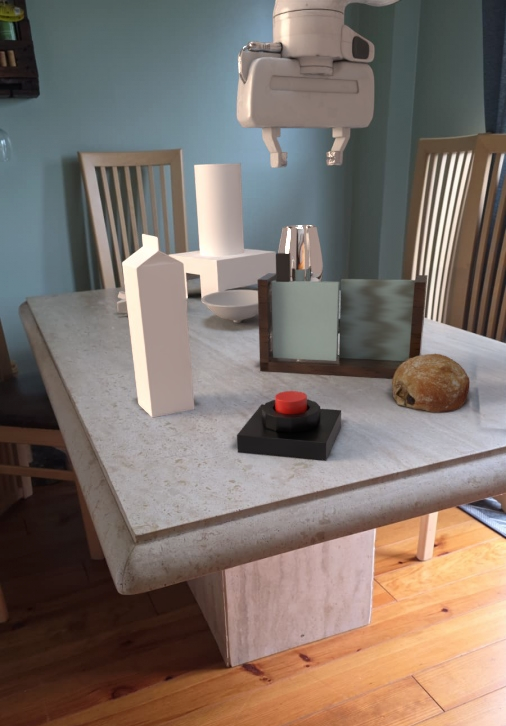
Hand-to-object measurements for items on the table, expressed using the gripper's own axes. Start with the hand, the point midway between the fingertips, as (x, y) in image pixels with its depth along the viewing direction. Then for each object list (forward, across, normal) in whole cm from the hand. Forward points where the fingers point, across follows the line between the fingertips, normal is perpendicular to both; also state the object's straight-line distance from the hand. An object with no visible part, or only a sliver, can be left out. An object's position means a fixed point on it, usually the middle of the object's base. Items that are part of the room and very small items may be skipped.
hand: (307, 166), depth 84 cm
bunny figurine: (+29, -2, +59) cm, 66 cm away
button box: (+29, -17, -19) cm, 39 cm away
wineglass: (+29, +8, +12) cm, 33 cm away
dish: (+29, +10, +36) cm, 48 cm away
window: (+27, +1, +1) cm, 27 cm away
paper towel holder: (+29, +24, +65) cm, 75 cm away
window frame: (+29, +5, -2) cm, 29 cm away
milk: (+29, -24, 0) cm, 38 cm away
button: (+25, -17, -19) cm, 36 cm away
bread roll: (+29, +5, -20) cm, 36 cm away
